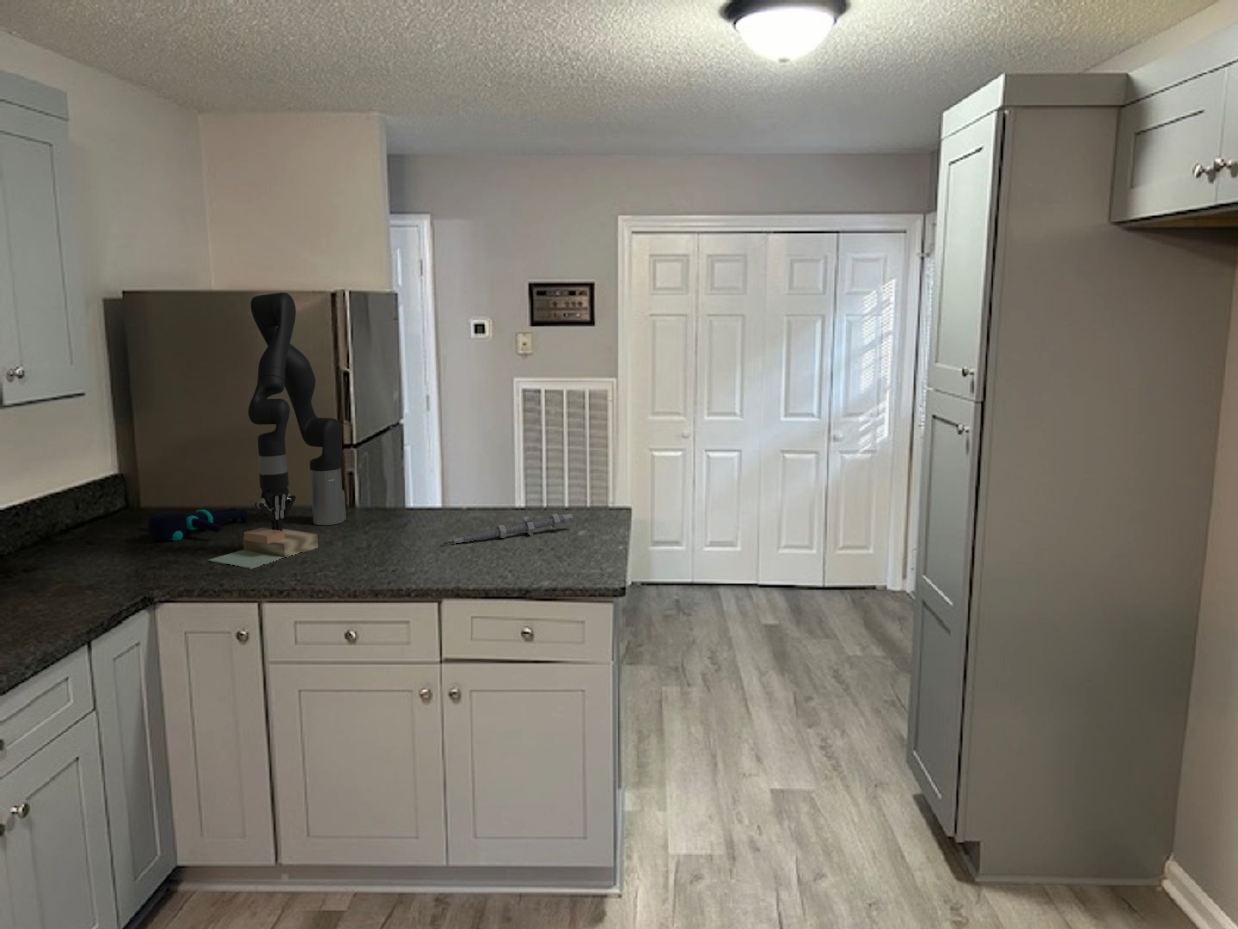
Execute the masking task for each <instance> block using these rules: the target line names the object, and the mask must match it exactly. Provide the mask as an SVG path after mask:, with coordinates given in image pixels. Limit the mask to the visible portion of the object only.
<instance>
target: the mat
mask: <svg viewBox="0 0 1238 929" xmlns="http://www.w3.org/2000/svg"><path fill="white" fill-rule="evenodd" d="M281 558H284V557H280V556H274V555H268V554H263V553H257V552H251V551H245V550H244V549H242V550H241V549H240V550H237V551H234V552H231V553H227V554H224V555H219V556H216V557H214V558H210V559H209V558H208V562H210V561H211V563H216V564H217V563H218V564H221V565H226V564H230V565H229V566H232V565H235V566H234V567H237V566H239V567H238V568H243V569H248V570H249V569H250V570H252V569H254V568H258V567H261V565H262V566H264V565H263V564H265V565H268V564H271V563H273V561H274V562H277V561H280V560H279V559H281ZM284 559H285V558H284ZM276 560H277V561H276ZM281 560H282V559H281ZM270 562H271V563H270Z"/></svg>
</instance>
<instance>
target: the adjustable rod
mask: <svg viewBox="0 0 1238 929" xmlns="http://www.w3.org/2000/svg"><path fill="white" fill-rule="evenodd" d="M573 521H574V516H573V513H568V514H560V515H558V513H553V514H550V515H549V518H548V517H547V518H544V519H539V520H533V518H530V516H528V515H527V516H523V523H520V524H515V525H510V526H505V525H504V524H500V525H496V527H495V529H490V530H486V531H480V532H476V533H471V534H466V535H462V536H461V537H457V538H453V539H452V541H448V542H441V543H440V546H441V545H442V544H444V545H449V544H448V543H450V544H454V543H459V542H467V543H468V541H473V542H475V541H474V540H477V541H478V540H480V541H483V540H487V539H488V540H489V539H492V538H494V539H495V538H496V537H498V536H499V537H501V538H503V537H506V538H507V536H508V535H511V534H517V533H521V532H524V534H525V533H534V532H535V529H540V528H546V527H549V526H550V527H552V528H553V529H555V528H560V527H561V526H560V525H561V524H563V523H564V524H565V523H570V522H573ZM499 537H498V538H499ZM442 546H443V545H442Z"/></svg>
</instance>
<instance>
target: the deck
mask: <svg viewBox="0 0 1238 929" xmlns="http://www.w3.org/2000/svg"><path fill="white" fill-rule="evenodd" d="M282 531H284V532H285V539H283V540H280V541H276V542H273V543H269V544H264V543H258V542H253V541H247V540H244V536H242V541H243V543H242V544H243V550H245V551H251V552H257V553H263V554H268V555H274V556H280V557H284V559H285V557H287V558H290V557H292V556H291V555H293V556H296V555H295V554H297V555H299V554H298V553H300V552H303V553H306V552H309V551H311V550H312V551H313V550H315V548H316V549H318V548H319V541H318V540H319V539H318V538H319V537H318V536H319V535H318V533H313V532H306V531H302V530H301V531H300V530H294V529H293V530H292V529H288V528H283V529H282ZM300 554H301V553H300ZM289 556H290V557H289Z"/></svg>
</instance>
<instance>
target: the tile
mask: <svg viewBox="0 0 1238 929" xmlns="http://www.w3.org/2000/svg"><path fill="white" fill-rule="evenodd" d="M243 537H244V540H247V541H253V542H258V543H264V544H269V543H273V542H276V541H280V540H283V539H285V532H284V531H279V530H273V529H272V528H267V527H259V528H256V529H251V530H247V531H243Z"/></svg>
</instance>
